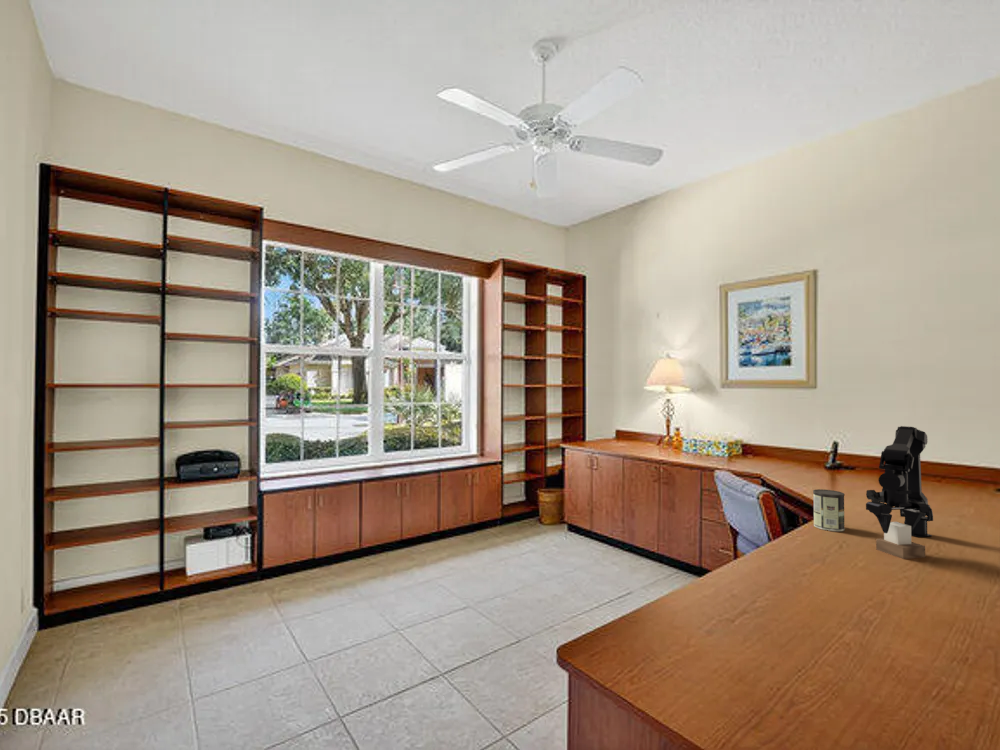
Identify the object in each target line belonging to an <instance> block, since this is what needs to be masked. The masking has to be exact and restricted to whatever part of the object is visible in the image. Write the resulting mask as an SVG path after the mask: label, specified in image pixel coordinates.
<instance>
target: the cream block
mask: <svg viewBox="0 0 1000 750" xmlns="http://www.w3.org/2000/svg"><path fill="white" fill-rule="evenodd" d="M883 538H884V540H886V541H889V542H892V543H895V544H898V545H903V544H911V542H912V535H911V526H909V525H906V524H904V523H902V522H898V521H891V522H890V526H889V530H888V533H884V532H883Z"/></svg>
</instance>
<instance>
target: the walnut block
mask: <svg viewBox="0 0 1000 750" xmlns="http://www.w3.org/2000/svg"><path fill="white" fill-rule="evenodd" d="M875 548H876V549H875V550H877V551H879V552H882V553H884V554H888V555H891V556H894V557H896V558H899V559H903V560H908V559H919V558H926V545H923V544H920V543H916V542H914V541H911V544H903V545H898V544H895V543H892V542H889V541H886V540H884V537H881V538H876V539H875Z"/></svg>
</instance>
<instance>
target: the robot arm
mask: <svg viewBox="0 0 1000 750" xmlns="http://www.w3.org/2000/svg"><path fill="white" fill-rule="evenodd" d="M894 437H895V438H894V440H893V442H892V444H890V445H887V446H885V448H884V450H882V451H881V454H880V459H879V466H878V469H879V470H884V473H882V474H880V475H879V477H878V484H879V486H881V491H876V490H875V489H867V490H866V492H865V493H866V499H868V500H869V501H867V502H866V503H865V510H866V511H869V513H871V514H873V515H874V516H875V517H876V519H877V521H878V523H879V525H880V527H881V530H882V533H883V534H884V533H888V530H889V526H890V522H892V518H893V514H891V513H892V511H896V510H899V514H900V516H899V517H901V518H904V521H903V522H904V523H903V524H906V525H909V526H911V537H917V538H925V537H926V538H927V537H932V534H931V533H930V534H929V533H928V522H933V521H934V514H933V512H934V511H933V509H932V508H931V505H930V504H929V501H928V498H927V496H926V495H925V494H924V493H923V491H922V472H921V471H922V469H921V468H922V467H921V463H922V462H921V453H922V452H923V451H924V450H925V449H926V445H927V444H928V434H927V433H926V432H925V431H923V430H920V429H918V428H917V427H914V426H905V425H904V426H903V425H900V426H897V429H896V430H895V436H894Z"/></svg>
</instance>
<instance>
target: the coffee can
mask: <svg viewBox="0 0 1000 750" xmlns="http://www.w3.org/2000/svg"><path fill="white" fill-rule="evenodd" d="M812 493H813V495H812V496H813V527H815V528H817V529H820V530H823V531H827V530H828V531H829V532H845V530H846V529H845V525H846V524H845V493H844V492H842V491H839V490H831V489H822V488H819V489H813V490H812ZM828 531H827V532H828Z"/></svg>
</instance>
